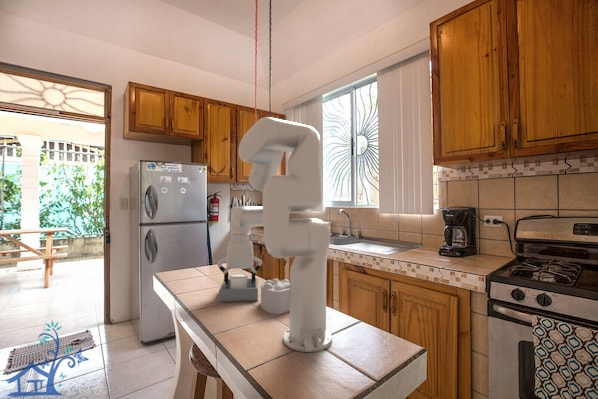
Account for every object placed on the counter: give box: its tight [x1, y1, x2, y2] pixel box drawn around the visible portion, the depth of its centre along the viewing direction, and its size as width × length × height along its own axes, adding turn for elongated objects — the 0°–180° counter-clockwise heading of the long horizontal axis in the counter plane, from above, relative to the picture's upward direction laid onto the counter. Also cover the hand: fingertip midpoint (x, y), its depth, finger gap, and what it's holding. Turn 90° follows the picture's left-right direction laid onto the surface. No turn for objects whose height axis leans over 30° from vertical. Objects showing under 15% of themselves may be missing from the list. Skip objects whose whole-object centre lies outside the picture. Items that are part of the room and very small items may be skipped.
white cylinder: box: [229, 273, 249, 289], centre depth 103 cm, size 7×7×7 cm
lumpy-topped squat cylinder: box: [260, 277, 290, 315], centre depth 94 cm, size 10×13×9 cm
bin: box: [218, 277, 259, 304], centre depth 104 cm, size 14×14×5 cm
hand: (239, 283), depth 104 cm, fingers open, 9 cm apart
